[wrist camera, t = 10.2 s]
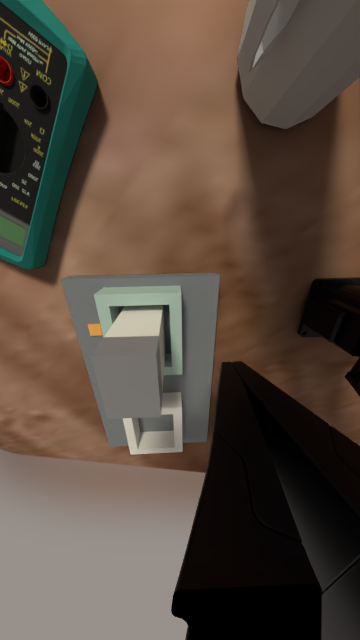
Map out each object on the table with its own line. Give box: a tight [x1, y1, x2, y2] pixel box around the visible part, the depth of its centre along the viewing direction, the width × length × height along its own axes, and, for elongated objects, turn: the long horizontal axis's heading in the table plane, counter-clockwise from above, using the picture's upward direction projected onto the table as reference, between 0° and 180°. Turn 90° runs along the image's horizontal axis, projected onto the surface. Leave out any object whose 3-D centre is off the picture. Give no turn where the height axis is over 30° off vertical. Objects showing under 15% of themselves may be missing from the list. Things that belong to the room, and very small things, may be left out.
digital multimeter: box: [0, 0, 97, 269], centre depth 12 cm, size 7×15×3 cm, turn 149°
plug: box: [91, 305, 165, 419], centre depth 14 cm, size 4×5×8 cm
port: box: [94, 286, 182, 375], centre depth 17 cm, size 7×8×2 cm
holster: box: [123, 392, 183, 454], centre depth 22 cm, size 7×8×2 cm
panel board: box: [61, 273, 220, 447], centre depth 22 cm, size 14×24×2 cm, turn 1°
